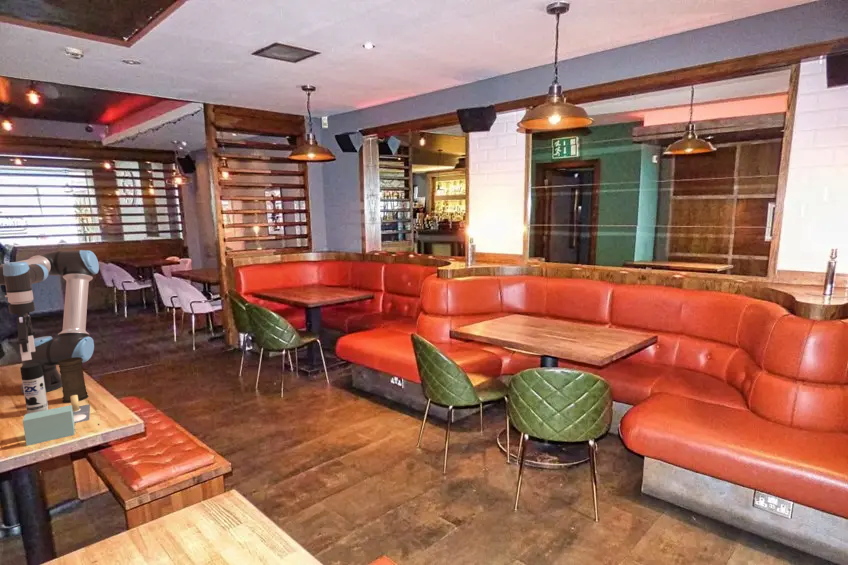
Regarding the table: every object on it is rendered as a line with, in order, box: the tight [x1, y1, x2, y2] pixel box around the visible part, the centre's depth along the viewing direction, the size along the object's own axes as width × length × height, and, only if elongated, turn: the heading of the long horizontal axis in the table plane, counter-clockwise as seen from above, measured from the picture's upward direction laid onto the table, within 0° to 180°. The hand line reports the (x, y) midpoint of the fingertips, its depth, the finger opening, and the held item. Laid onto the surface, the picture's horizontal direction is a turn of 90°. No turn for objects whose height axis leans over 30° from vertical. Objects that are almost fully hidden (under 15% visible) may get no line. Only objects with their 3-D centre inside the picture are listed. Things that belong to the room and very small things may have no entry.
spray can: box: [19, 363, 49, 414], centre depth 187 cm, size 7×7×20 cm
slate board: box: [70, 395, 91, 424], centre depth 181 cm, size 18×17×7 cm
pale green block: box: [22, 404, 76, 447], centre depth 167 cm, size 7×13×9 cm, turn 124°
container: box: [57, 357, 89, 404], centre depth 199 cm, size 9×9×18 cm
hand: (29, 355), depth 185 cm, fingers open, 13 cm apart
